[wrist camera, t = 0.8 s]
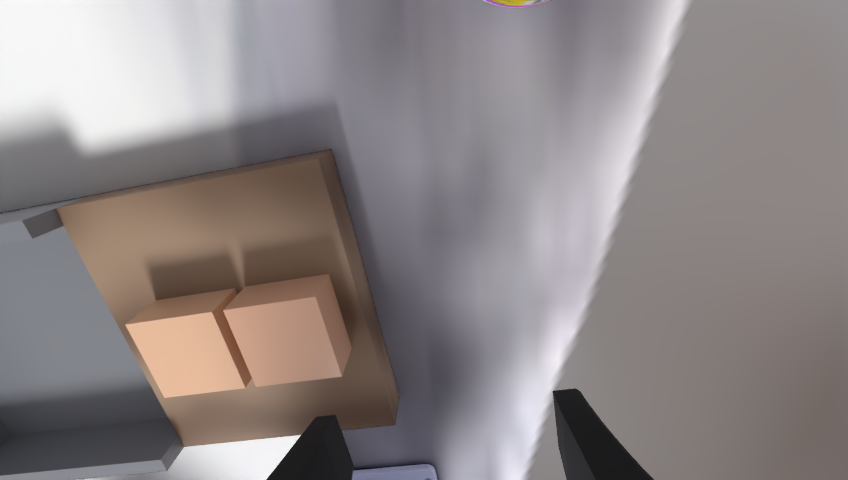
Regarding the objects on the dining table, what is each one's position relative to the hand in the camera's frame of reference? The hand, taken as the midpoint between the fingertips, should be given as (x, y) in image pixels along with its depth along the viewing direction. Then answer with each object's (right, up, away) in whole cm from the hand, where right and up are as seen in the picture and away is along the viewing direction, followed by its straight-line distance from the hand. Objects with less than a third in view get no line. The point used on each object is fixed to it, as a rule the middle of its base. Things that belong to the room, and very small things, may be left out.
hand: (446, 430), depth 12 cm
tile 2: (-11, +1, +8) cm, 14 cm away
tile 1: (-6, +2, +8) cm, 10 cm away
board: (-9, +2, +10) cm, 14 cm away
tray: (-21, 0, +12) cm, 24 cm away
